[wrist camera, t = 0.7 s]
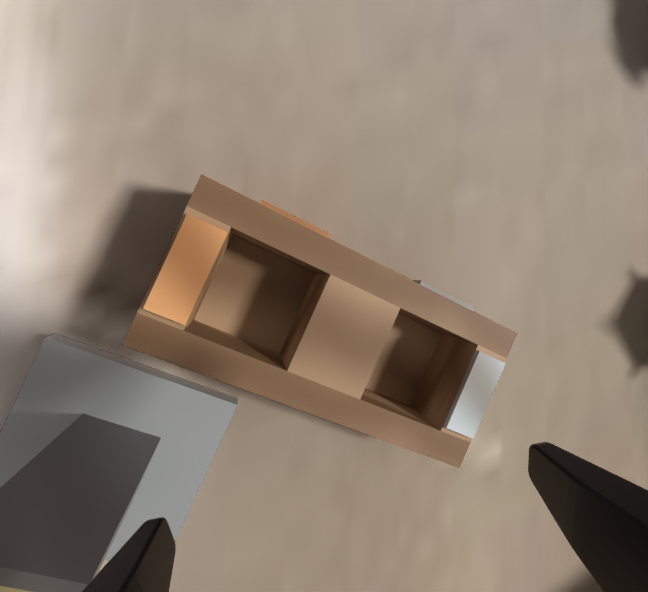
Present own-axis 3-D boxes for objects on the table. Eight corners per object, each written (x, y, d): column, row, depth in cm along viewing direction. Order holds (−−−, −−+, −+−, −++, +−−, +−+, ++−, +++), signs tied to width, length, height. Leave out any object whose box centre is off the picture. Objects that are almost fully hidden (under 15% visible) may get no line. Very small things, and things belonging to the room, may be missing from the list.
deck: (165, 557, 20) (161, 572, 19) (-29, 512, 18) (-44, 526, 17) (237, 398, 20) (237, 404, 19) (56, 333, 18) (45, 337, 17)
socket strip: (418, 431, 23) (462, 471, 19) (149, 327, 19) (119, 346, 14) (468, 317, 24) (523, 329, 19) (213, 191, 19) (203, 166, 15)
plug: (129, 507, 19) (14, 746, 9) (49, 486, 18) (-169, 728, 8) (161, 437, 19) (79, 604, 9) (83, 413, 18) (-94, 571, 8)
